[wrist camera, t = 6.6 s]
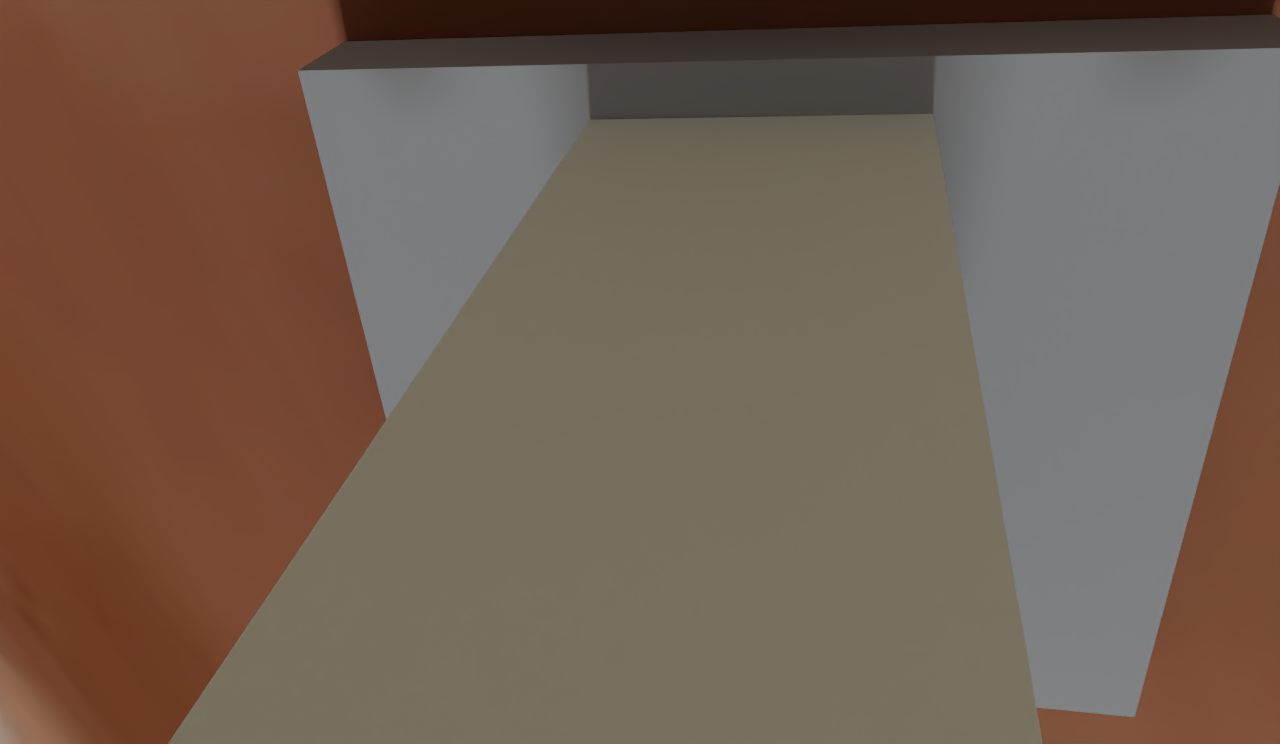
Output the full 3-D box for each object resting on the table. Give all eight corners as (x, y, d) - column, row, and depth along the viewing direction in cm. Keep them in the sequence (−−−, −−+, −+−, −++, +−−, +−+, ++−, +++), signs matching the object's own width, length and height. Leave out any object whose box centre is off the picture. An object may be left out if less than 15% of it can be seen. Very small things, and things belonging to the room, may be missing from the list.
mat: (1273, 14, 10) (1317, 47, 9) (1117, 650, 15) (1134, 717, 14) (345, 41, 12) (297, 70, 11) (469, 593, 17) (444, 648, 16)
